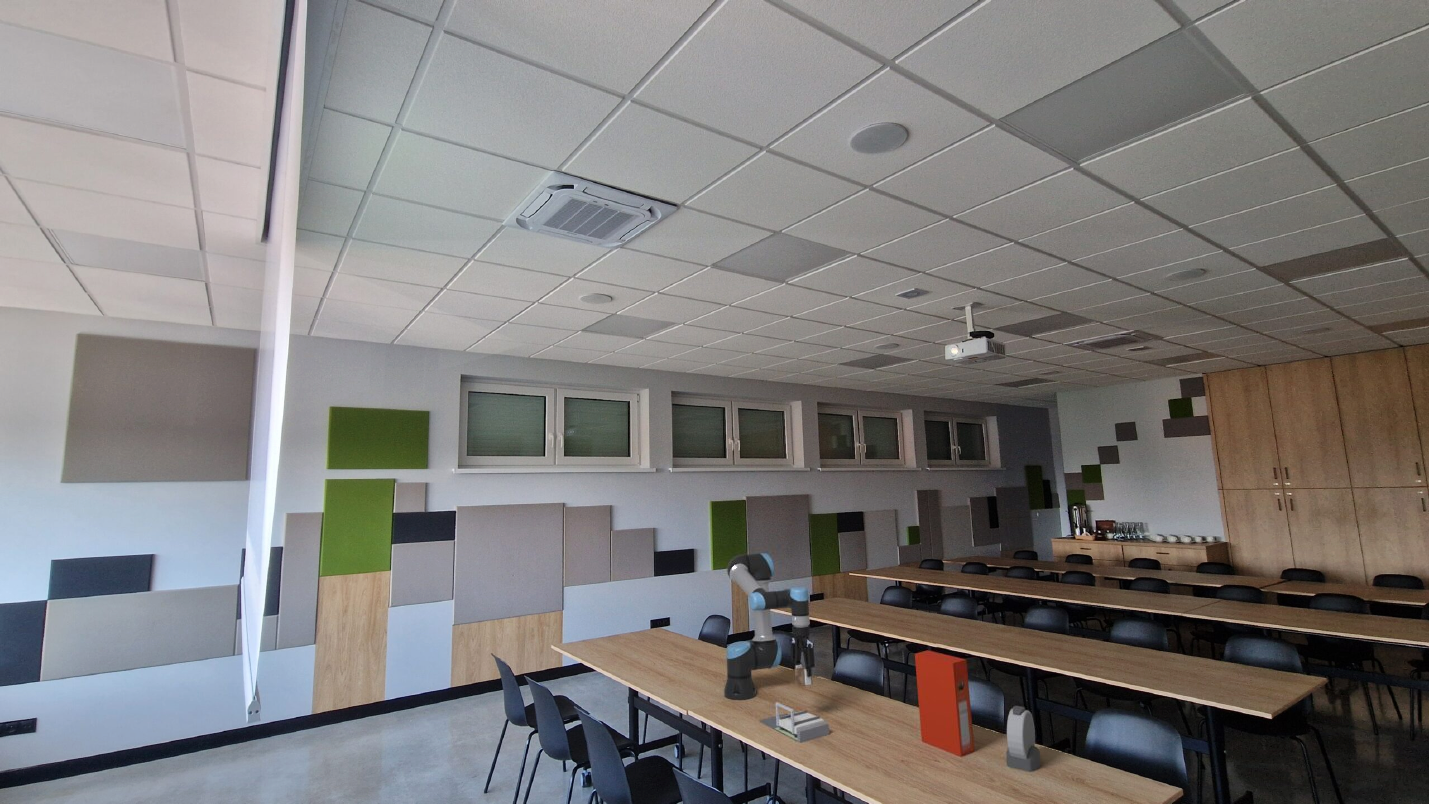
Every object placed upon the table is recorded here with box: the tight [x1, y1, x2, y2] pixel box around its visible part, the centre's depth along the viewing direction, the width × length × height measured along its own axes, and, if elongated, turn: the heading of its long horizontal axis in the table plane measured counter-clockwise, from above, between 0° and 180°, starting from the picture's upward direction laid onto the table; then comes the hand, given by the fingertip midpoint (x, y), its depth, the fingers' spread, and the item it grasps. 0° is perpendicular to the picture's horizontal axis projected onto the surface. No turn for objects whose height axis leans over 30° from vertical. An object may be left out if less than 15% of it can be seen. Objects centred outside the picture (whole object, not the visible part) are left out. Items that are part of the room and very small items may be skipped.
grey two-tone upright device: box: [1005, 705, 1042, 773], centre depth 217 cm, size 16×10×18 cm, turn 141°
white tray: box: [775, 701, 825, 737], centre depth 251 cm, size 13×15×10 cm
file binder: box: [914, 649, 975, 758], centre depth 234 cm, size 8×17×32 cm, turn 32°
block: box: [794, 666, 813, 687], centre depth 263 cm, size 5×5×6 cm
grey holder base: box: [758, 713, 830, 744], centre depth 254 cm, size 28×14×4 cm, turn 31°
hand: (803, 682), depth 263 cm, fingers closed on block, 5 cm apart
